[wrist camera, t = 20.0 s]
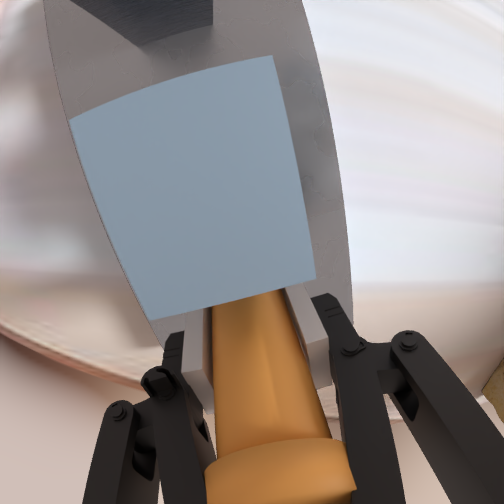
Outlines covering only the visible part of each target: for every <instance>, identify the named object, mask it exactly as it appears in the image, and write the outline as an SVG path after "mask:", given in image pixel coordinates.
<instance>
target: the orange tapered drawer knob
mask: <svg viewBox="0 0 504 504" xmlns="http://www.w3.org/2000/svg"><path fill="white" fill-rule="evenodd" d="M211 308H212V359H213V389H214V413H215V433H216V450H217V460H216V461H214V462H213V463H211V464H210V465H209V466H208V467H207V468H206V470H205V471H204V478H205V486H206V492H207V504H350V499H351V492H352V491H353V490H356V489H357V488H356V485H355V482H354V479H353V476H352V473H351V470H350V467H349V461H348V454H347V447H346V443H344V442H342V441H339V440H335V439H332V436H331V433H330V429H329V427H328V423H327V420H326V417H325V414H324V412H323V409H322V406H321V403H320V400H319V397H318V394H317V391H316V388H315V385H314V382H313V379H312V376H311V373H310V370H309V367H308V365H307V362H306V359H305V356H304V353H303V350H302V347H301V344H300V341H299V339H298V336H297V333H296V330H295V327H294V324H293V321H292V319H291V316H290V313H289V310H288V307H287V304H286V301H285V299H284V296H283V293H282V290H281V289H277V290H273V291H269V292H266V293H262V294H258V295H254V296H250V297H246V298H242V299H239V300H235V301H231V302H227V303H223V304H219V305H215V306H211Z"/></svg>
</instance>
